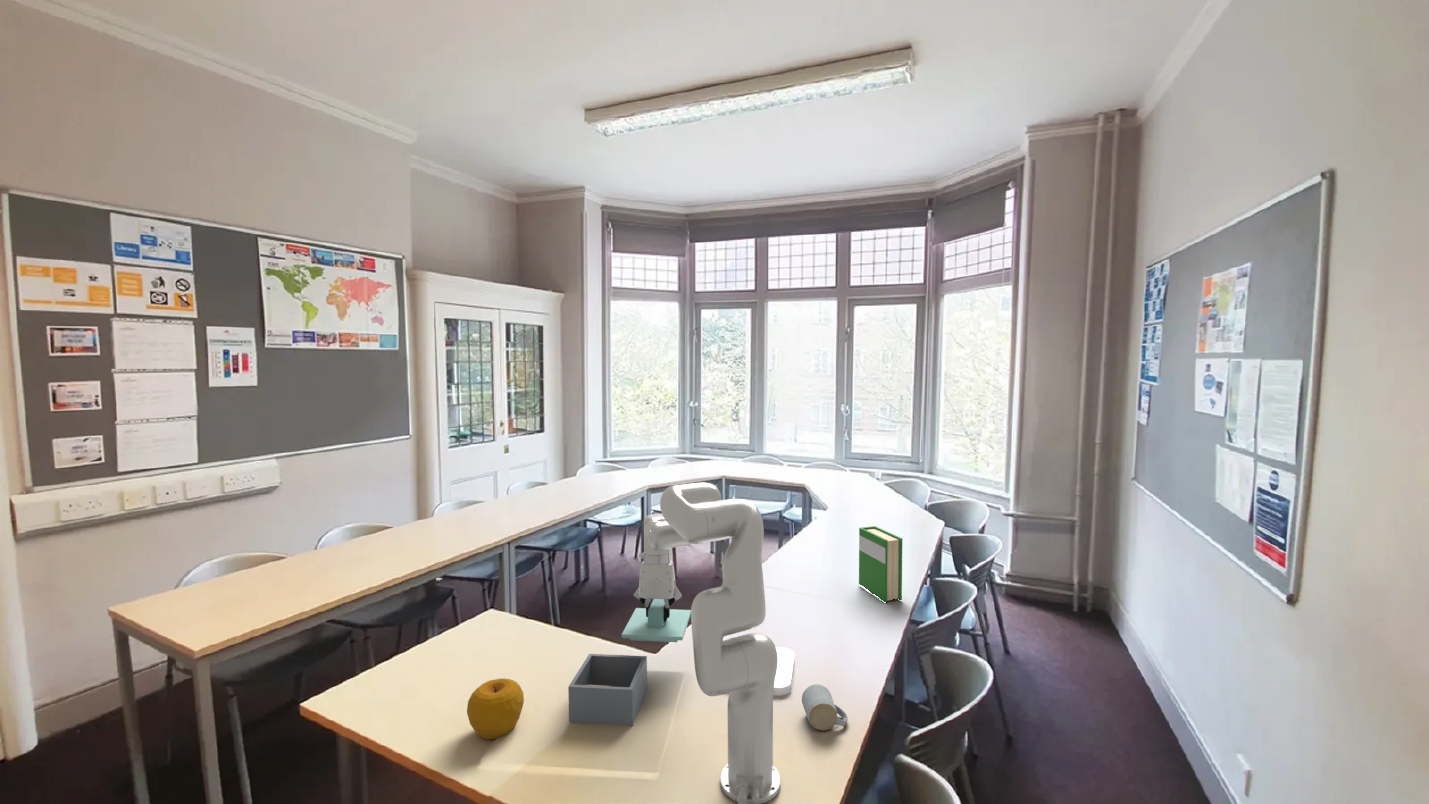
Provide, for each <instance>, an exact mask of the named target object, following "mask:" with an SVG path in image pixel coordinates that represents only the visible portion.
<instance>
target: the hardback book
mask: <svg viewBox="0 0 1429 804" xmlns="http://www.w3.org/2000/svg"><path fill="white" fill-rule="evenodd" d="M858 528H859V529H858V531H859V533H858V534H859V535H858V537H859V538H858V542H859V543H858V585H859V584H860V585H862V586H864V587H865V588H866V589H868V590H869V591H870V592H871V593H872V594H875V595H876V596H878V597H879V598H880V599H881V600H883V601H884V602H887V603H888V602H889V601H894V600H893V599H895V600H897V599H899V600H902V601H903V599H902V597H903V589H902V588H903V537H900V536H898V535H896V534H893V533H892V532H889V531H887V530H884V529H883V528H880V527H879V526H877V525H874V526H873V525H872V526H865V527H858Z"/></svg>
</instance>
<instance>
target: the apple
mask: <svg viewBox="0 0 1429 804" xmlns="http://www.w3.org/2000/svg"><path fill="white" fill-rule="evenodd" d="M524 702H525V697H524V691H523V689H522V688H521V685H520V684H519V683H518V682H517V681H515V680H513V679H510V678H502V677H501V678H495V679H490V680H488V681H485V682H483V683H482V684H480V686H478V687H477V688H476V689H475V690H474V691H473V692H472V693H471V694H470V697H469V699H468V700H467V708H466V715H467V718H468V721H469V724H470V726H471V728H472V729H473V730H474V732H475V733H476V734H478V735H479V736H480V737H481V738H483V739H485V740H489V741H490V740H496V739H497V738H498V737H502V736H505V735H507V734H508V733H510V732H511V731H512V730H513V729H514V728H516V725H517V723H518V722H519V719H520V716H521V713H522V710H523V706H524Z"/></svg>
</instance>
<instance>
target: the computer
mask: <svg viewBox="0 0 1429 804" xmlns="http://www.w3.org/2000/svg"><path fill="white" fill-rule="evenodd" d="M775 647H776V650H777V654H778V667H777V672H776V677H775V683H774V690H773V697H774V696H775V697H781V696H786V695H789V693H791V690H792V684H793V683H792V682H793V675H794V674H793V673H794V667H795V652H794V651H793V650H792V649H790V648H787V647H781V646H780V647H779V646H778V647H777V646H775Z"/></svg>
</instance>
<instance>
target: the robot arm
mask: <svg viewBox="0 0 1429 804" xmlns="http://www.w3.org/2000/svg"><path fill="white" fill-rule="evenodd" d="M659 502H660V503H659V506H660V512H661V513H651V514H648V515H646V516H645V517H644V519H643V547H644V550H643V552H639V555H638V557H639V558H641V559H643V561H642V562H641V564H640V569H639V577H638V578H639V579H638V580H639V581H638V582H639V583H638V588H637V589H636V590H635V592H634V593H633V596H634V598H636V599H637V600H639V601H640V603H642V605H644V608H646V617H648V610H649V608H650V606H651V604H652V600H654V599H664V603H665V607H664V622H666V621H667V618H669V617H670V609H671V608H670V607H671V606H672V605H673V604H674V603H675V602H676V601H678V600H679V599H682V596H683V595H682V593H681V592H680V590H679V588H678V587H677V585H676V575H675V567H674V562H673V560H672V559H671V549H673V548H679V547H684V546H689V545H700V544H706V543H707V544H708V543H710V542H711V543H712V542H718V541H722V540H727V539H731V541H730V543H729V544H728V547H727V548H726V550H725V552H724V555H723V558H722V562H721V571H722V584H721V585H720V586H717V587H712V588H709V589H704V590H702V591H700V592H699V593H697V594H696V595H695V597H694V598H693V601H692V604H691V607H690V610H691V615H690V622H691V638H692V648H693V661H694V664H693V665H694V671H695V677H696V681H697V685H698V686H699V689H700V690H701V691H702V693H703V694H705V695H707V696H709V697H717V696H718V697H719V696H722V695H726V694H729V695H728V698H727V764H726V765H725V766H724V768H723V769H722V770H721V774H720V786H721V788H722V789H721V790H722V791H723V793H724V794H725V795H726V796H727V797H729V799H731V800H732V801H734V802H737V804H766V803H767V802H769V801H772V800H773V798H775V797H776V796H777V795H778V794H779V791H780V789H781V776H780V773H779V771H778V769H777V768H776V767H775V766H774V695H773V690H774V683H775V677H776V672H777V667H778V654H777V650H776V647H777V646H776V645H775V643H774V640H772V638H770V637H769V636H768V635H766V634H763V633H759V632H753V633H752V632H750V633H746V634H742V635H738V636H734V637H730V638H728V639H724V638H725V637H727V636H731V635H734V634H738V633H742V632H745V631H749V630H751V629H755V628H758V627H759V626H761V625H762V624H763V623H764V622H765V618H766V614H767V613H766V611H767V610H766V595H765V584H764V573H763V561H762V557H763V555H762V554H763V546H764V539H765V538H764V535H765V531H764V530H765V529H764V521H763V518H762V513H761V511H760V510H759V507H757V506H756V504H755V503H753V502H752V501H751V500H748V499H743V498H730V499H722V493H721V491H720V489H718V487H717V486H715V485H714V484H712V483H709V482H702V481H701V482H693V483H685V484H684V483H683V484H674V485H670V486H669V487H666V488H665V489H664V491H663V492H662V494H661V497H660V501H659ZM723 639H724V640H723Z"/></svg>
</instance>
